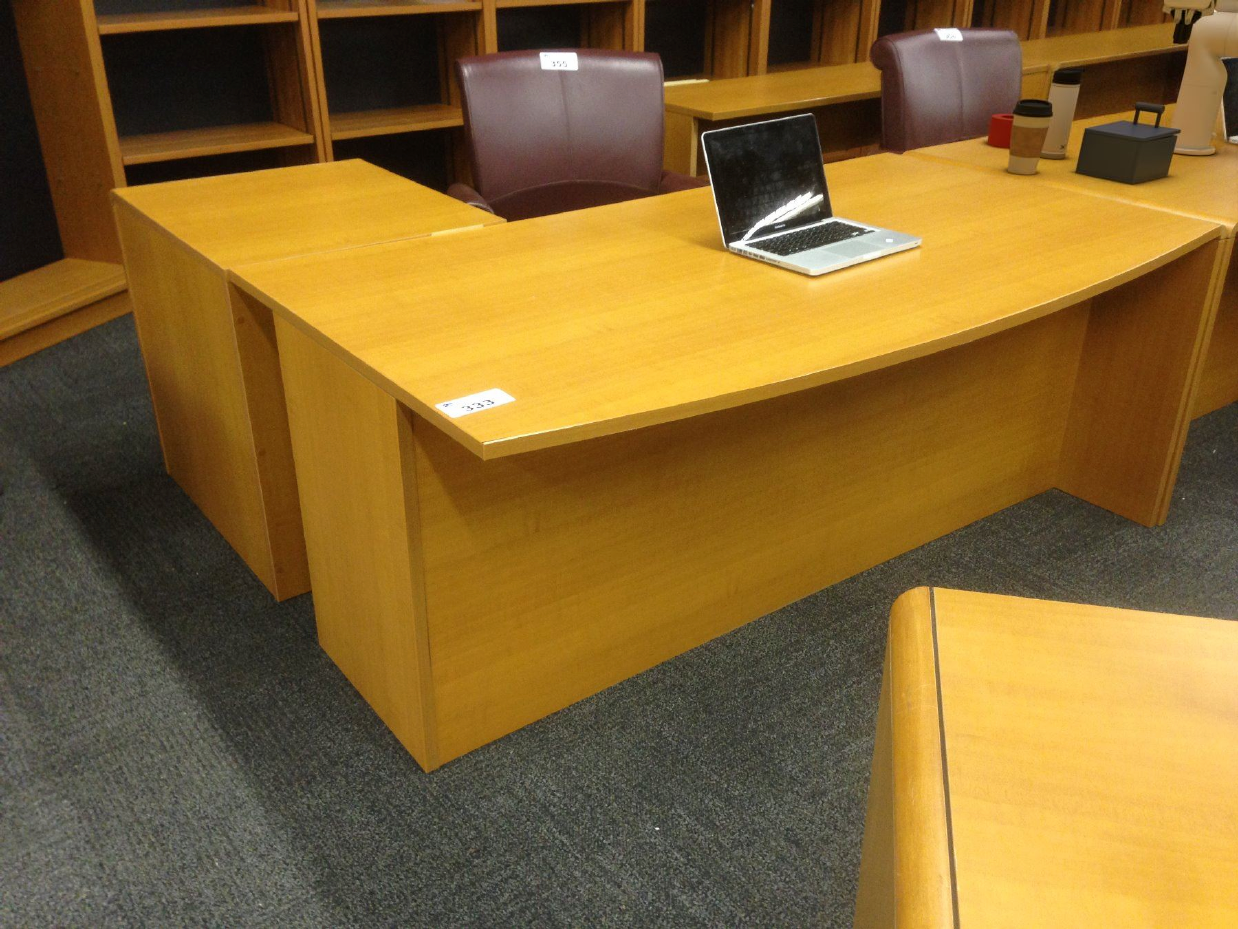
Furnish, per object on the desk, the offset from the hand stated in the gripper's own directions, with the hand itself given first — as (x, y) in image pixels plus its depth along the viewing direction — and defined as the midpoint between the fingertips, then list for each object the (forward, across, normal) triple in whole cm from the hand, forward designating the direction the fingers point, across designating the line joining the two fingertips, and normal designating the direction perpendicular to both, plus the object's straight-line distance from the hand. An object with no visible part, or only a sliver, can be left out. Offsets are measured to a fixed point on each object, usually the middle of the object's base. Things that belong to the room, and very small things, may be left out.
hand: (1179, 43), depth 228 cm
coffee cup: (+27, +14, +29) cm, 42 cm away
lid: (+18, 0, +12) cm, 21 cm away
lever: (+27, +31, +3) cm, 41 cm away
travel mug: (+27, +20, +8) cm, 34 cm away
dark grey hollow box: (+27, 0, +12) cm, 29 cm away
